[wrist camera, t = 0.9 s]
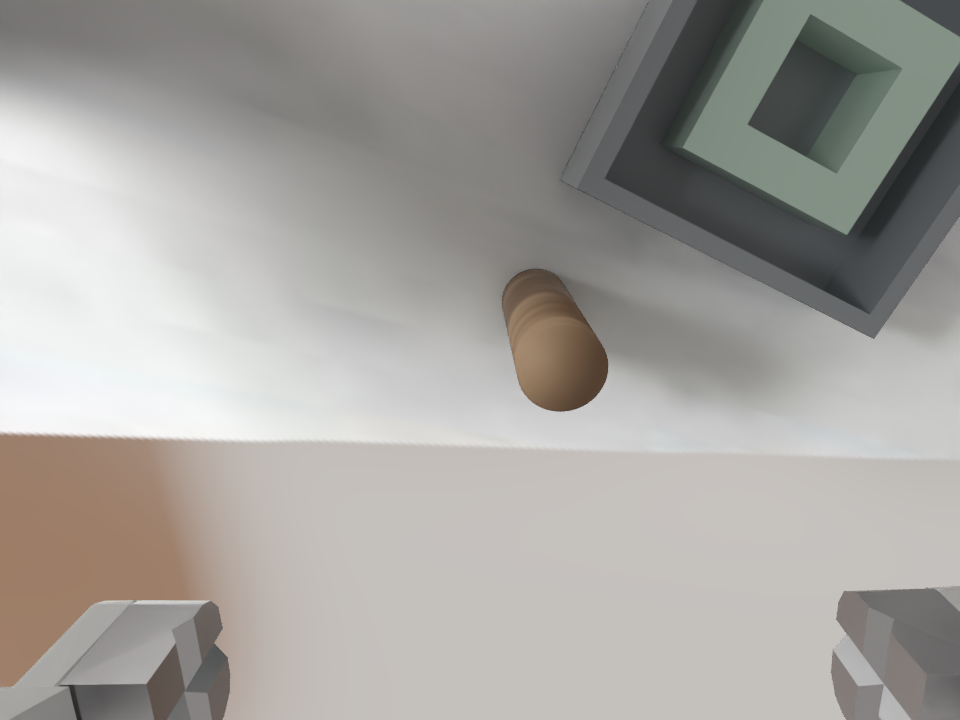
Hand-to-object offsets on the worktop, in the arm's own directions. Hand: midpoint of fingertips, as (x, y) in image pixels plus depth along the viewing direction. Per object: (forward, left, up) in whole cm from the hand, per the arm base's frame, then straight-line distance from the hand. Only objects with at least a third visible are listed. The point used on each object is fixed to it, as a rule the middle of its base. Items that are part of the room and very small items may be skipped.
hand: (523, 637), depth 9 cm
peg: (+5, -2, -32) cm, 33 cm away
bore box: (+12, +14, -32) cm, 37 cm away
